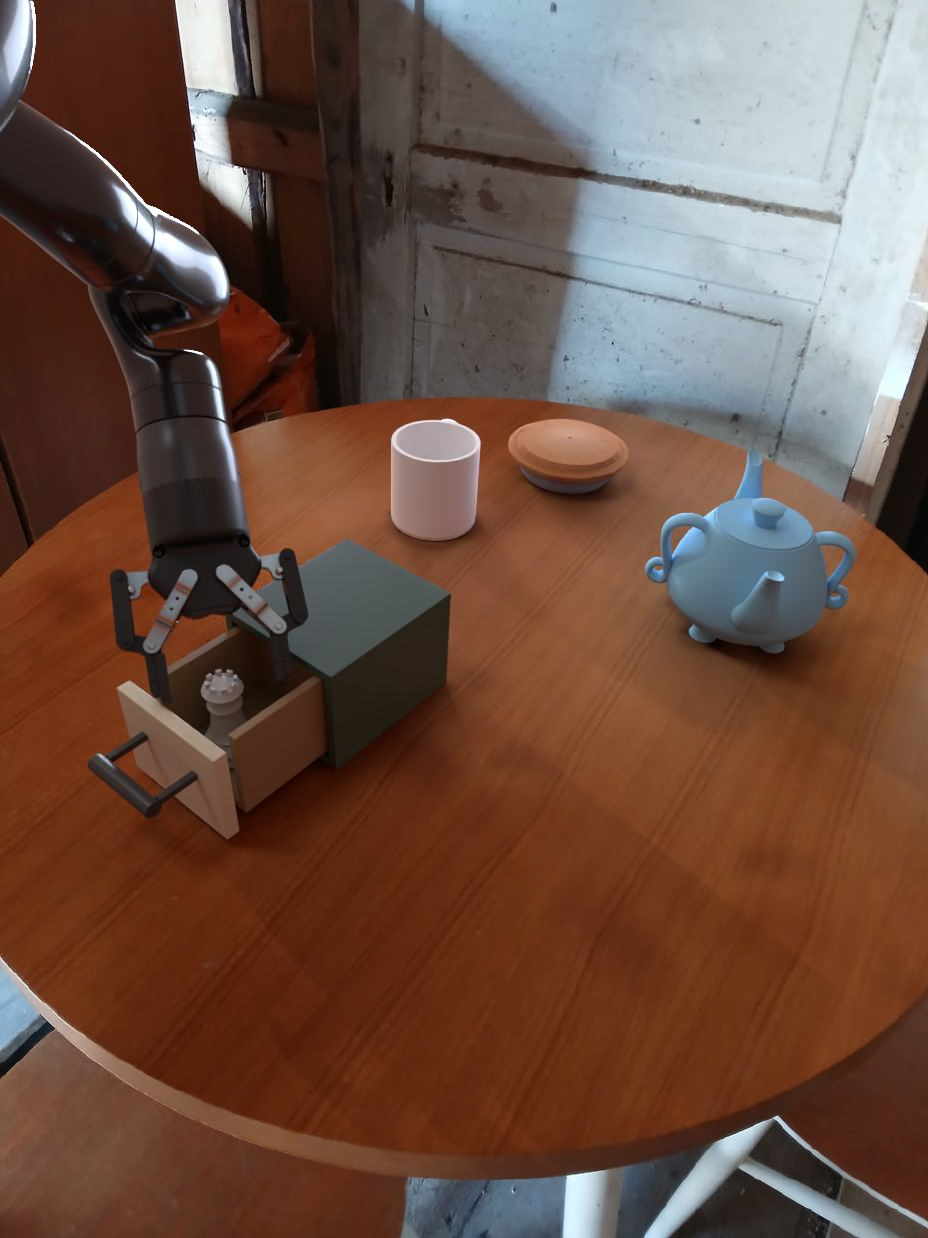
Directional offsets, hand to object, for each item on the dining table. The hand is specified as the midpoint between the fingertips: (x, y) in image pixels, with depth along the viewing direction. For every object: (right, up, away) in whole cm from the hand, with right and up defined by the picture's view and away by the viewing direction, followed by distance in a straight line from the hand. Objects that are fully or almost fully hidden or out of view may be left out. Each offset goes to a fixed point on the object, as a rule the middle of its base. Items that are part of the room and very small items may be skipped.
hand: (225, 694), depth 69 cm
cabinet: (+7, -1, +15) cm, 16 cm away
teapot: (+47, +6, +27) cm, 54 cm away
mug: (+15, +18, +40) cm, 46 cm away
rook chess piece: (-1, -5, +6) cm, 8 cm away
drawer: (-2, -7, +6) cm, 9 cm away
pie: (+31, +25, +49) cm, 63 cm away
